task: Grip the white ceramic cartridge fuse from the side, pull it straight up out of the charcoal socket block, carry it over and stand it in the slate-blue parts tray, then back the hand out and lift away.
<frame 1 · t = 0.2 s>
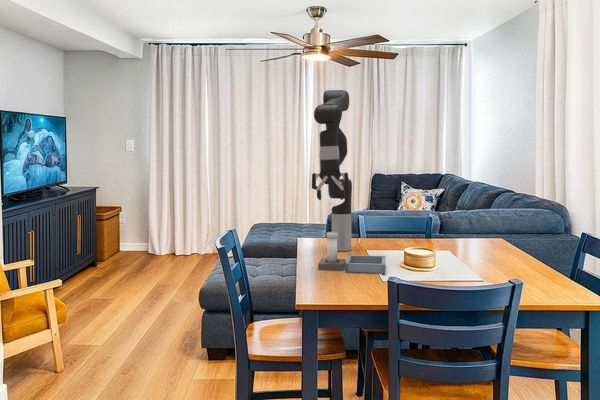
hand: (330, 199, 222), 29 cm above the table, fingers open, 8 cm apart
fuse: (332, 267, 230), resting on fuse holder
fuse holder: (332, 268, 230), on the table
parts tray: (365, 269, 228), on the table
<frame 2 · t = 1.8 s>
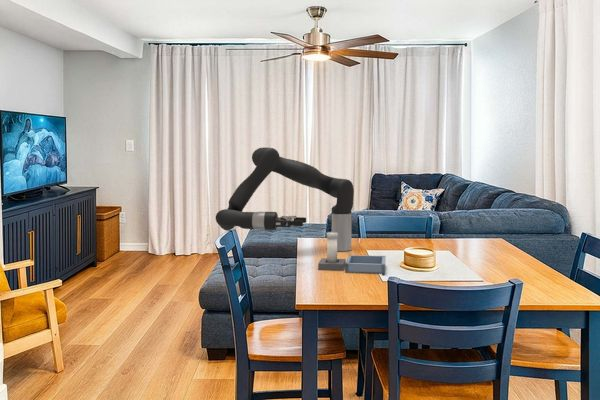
hand: (304, 221, 230), 19 cm above the table, fingers open, 8 cm apart
nothing on the table moved.
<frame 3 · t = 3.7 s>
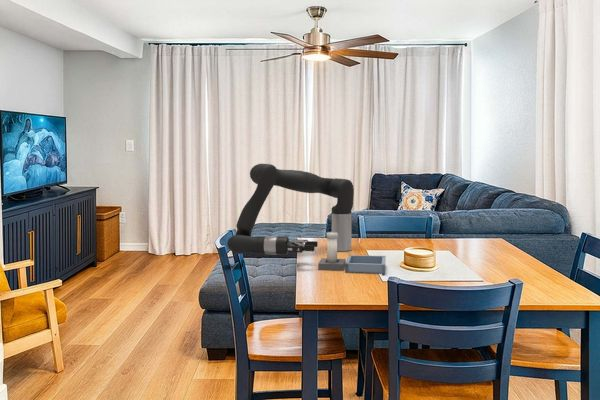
hand: (315, 246, 231), 9 cm above the table, fingers open, 8 cm apart
nothing on the table moved.
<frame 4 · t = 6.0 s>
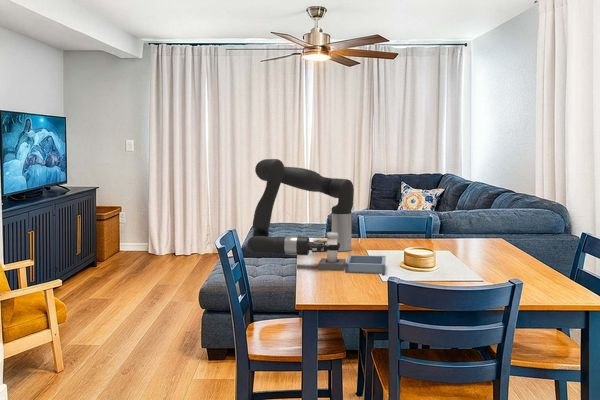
hand: (339, 246, 229), 9 cm above the table, fingers closed on fuse, 4 cm apart
fuse: (332, 267, 230), point 1 cm above the table, touching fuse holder, gripper
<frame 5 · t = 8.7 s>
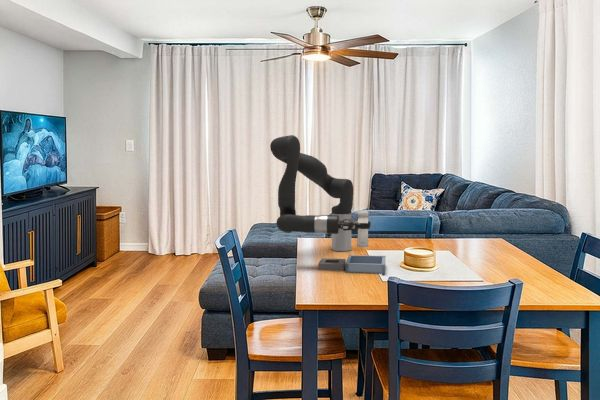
hand: (369, 225, 226), 18 cm above the table, fingers closed on fuse, 4 cm apart
fuse: (362, 246, 227), point 9 cm above the table, touching gripper
when the fingers open (10 cm above the table, at t = 11.4 s): fuse stays where it is, resting on parts tray.
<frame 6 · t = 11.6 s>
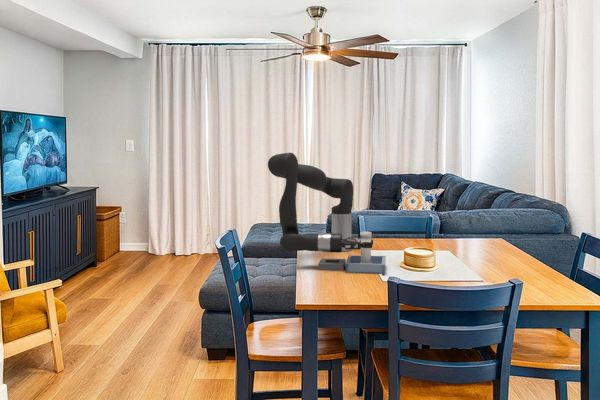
hand: (372, 243, 227), 10 cm above the table, fingers open, 5 cm apart
fuse: (365, 267, 228), point 1 cm above the table, touching parts tray
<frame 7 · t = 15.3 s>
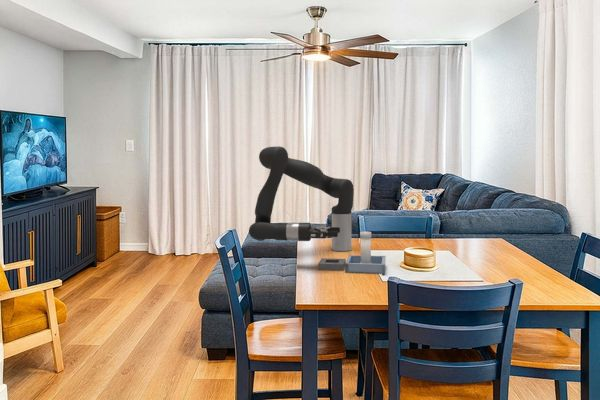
hand: (338, 232, 228), 15 cm above the table, fingers open, 8 cm apart
nothing on the table moved.
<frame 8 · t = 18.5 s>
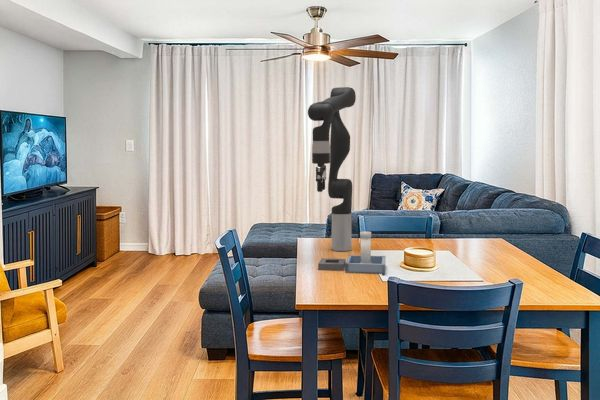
hand: (321, 190, 241), 30 cm above the table, fingers open, 8 cm apart
nothing on the table moved.
at the end: fuse inside the target area on the parts tray (0.0 cm from its centre), point 1.0 cm above the parts tray's base; the gripper is holding nothing; fuse touching parts tray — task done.
